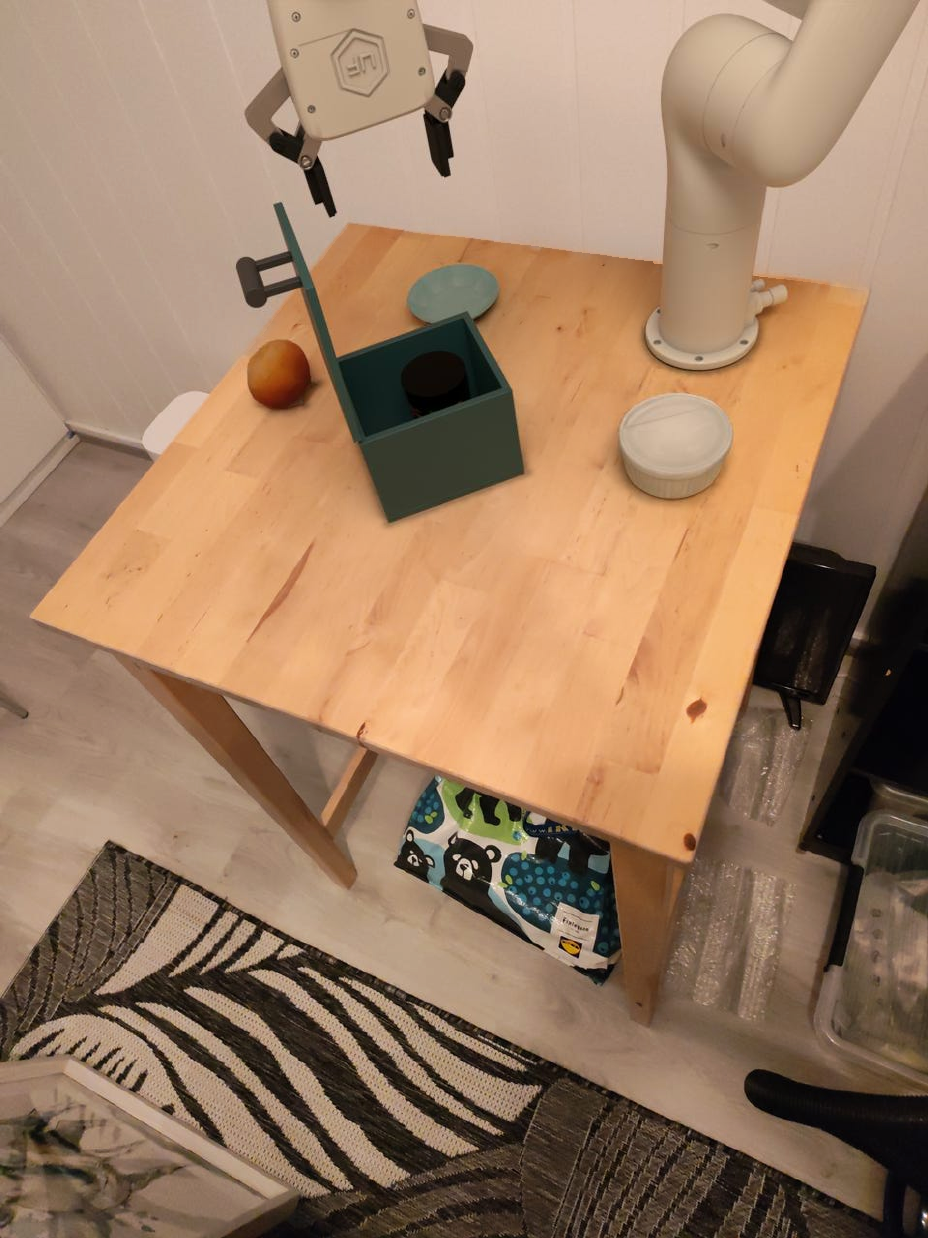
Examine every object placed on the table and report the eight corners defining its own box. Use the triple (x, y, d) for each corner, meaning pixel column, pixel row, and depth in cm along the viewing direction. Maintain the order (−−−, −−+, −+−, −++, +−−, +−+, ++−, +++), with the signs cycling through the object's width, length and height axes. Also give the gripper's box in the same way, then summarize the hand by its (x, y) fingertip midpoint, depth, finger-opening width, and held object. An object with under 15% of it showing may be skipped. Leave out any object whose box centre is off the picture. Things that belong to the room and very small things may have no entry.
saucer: (510, 280, 105) (508, 264, 103) (487, 340, 99) (484, 325, 97) (426, 277, 108) (422, 262, 106) (399, 335, 102) (395, 320, 100)
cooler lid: (281, 201, 69) (219, 219, 69) (314, 286, 62) (245, 307, 61) (330, 355, 83) (278, 371, 83) (362, 440, 76) (305, 459, 75)
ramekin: (665, 413, 88) (667, 375, 83) (750, 460, 82) (758, 423, 78) (595, 473, 85) (594, 437, 80) (679, 526, 79) (683, 491, 75)
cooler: (483, 395, 94) (467, 310, 84) (524, 473, 86) (512, 389, 77) (358, 440, 93) (327, 360, 83) (388, 523, 86) (359, 445, 76)
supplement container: (493, 443, 88) (479, 368, 80) (448, 478, 87) (429, 406, 78) (453, 415, 92) (436, 341, 83) (409, 449, 90) (386, 377, 81)
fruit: (318, 409, 95) (265, 363, 90) (278, 432, 100) (226, 390, 95) (337, 363, 99) (287, 316, 94) (297, 387, 104) (249, 344, 99)
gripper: (197, -14, 48) (293, 248, 62) (467, -104, 49) (501, 175, 63) (182, -53, 52) (276, 201, 66) (431, -135, 53) (471, 133, 67)
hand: (385, 188), depth 65 cm, fingers open, 9 cm apart
